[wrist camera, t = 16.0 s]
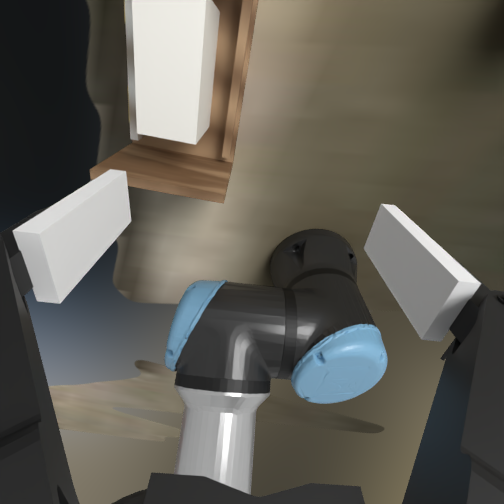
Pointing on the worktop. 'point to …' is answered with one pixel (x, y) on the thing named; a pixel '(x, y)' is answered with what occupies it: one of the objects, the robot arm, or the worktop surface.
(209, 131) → the facing shelf
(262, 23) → the worktop surface
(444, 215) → the worktop surface
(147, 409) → the worktop surface
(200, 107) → the product carton
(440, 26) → the worktop surface
